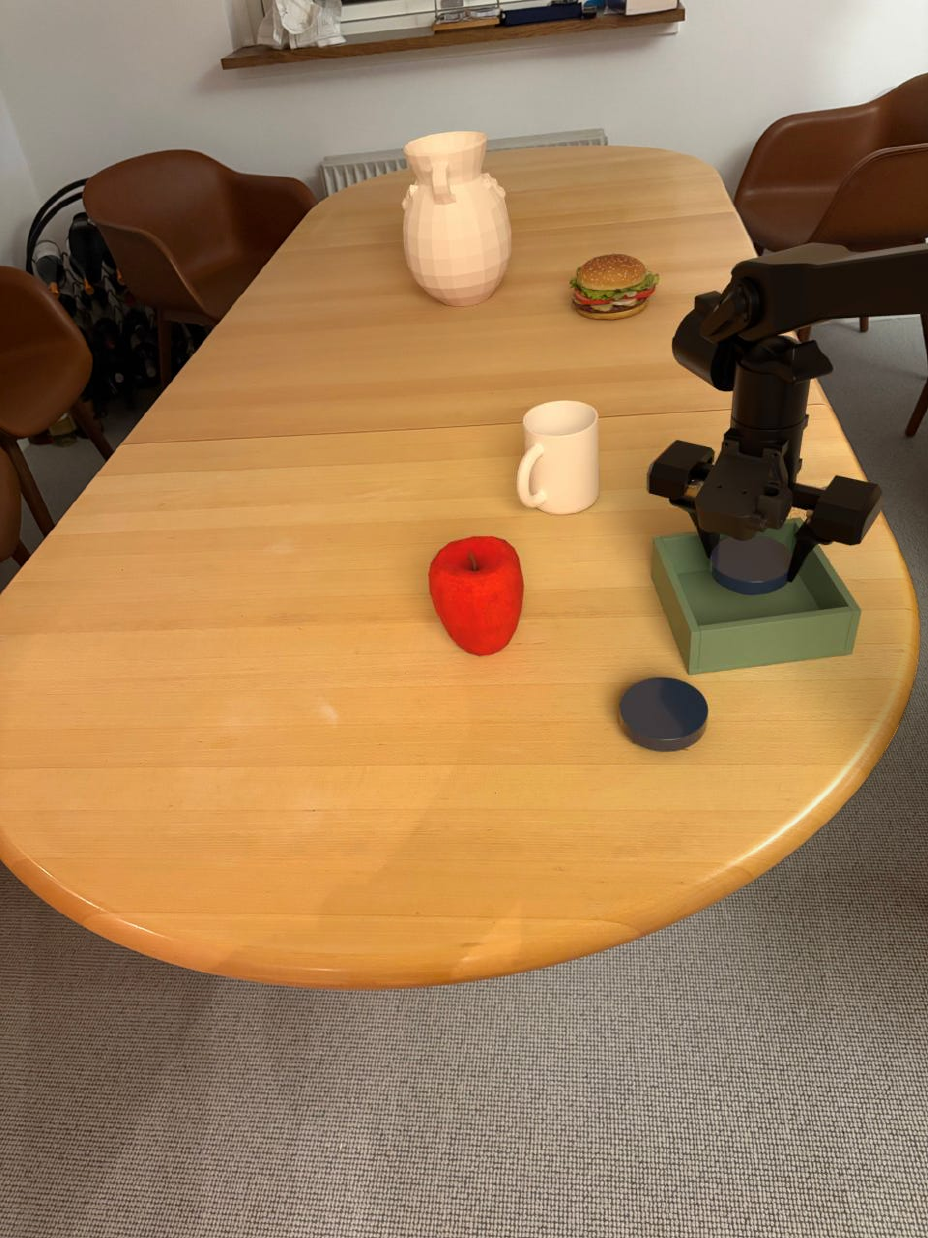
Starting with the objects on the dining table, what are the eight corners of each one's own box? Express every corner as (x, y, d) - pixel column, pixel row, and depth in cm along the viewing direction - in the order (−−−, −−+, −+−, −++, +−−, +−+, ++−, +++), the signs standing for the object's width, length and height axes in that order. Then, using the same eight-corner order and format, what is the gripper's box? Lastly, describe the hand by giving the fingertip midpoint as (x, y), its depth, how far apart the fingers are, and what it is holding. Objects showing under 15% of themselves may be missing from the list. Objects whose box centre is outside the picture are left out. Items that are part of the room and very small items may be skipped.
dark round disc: (775, 551, 84) (778, 529, 82) (802, 597, 78) (806, 575, 77) (699, 561, 84) (701, 540, 83) (721, 608, 79) (723, 586, 77)
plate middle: (693, 692, 77) (695, 671, 75) (717, 754, 72) (719, 733, 70) (611, 702, 77) (611, 682, 76) (629, 765, 72) (629, 745, 70)
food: (671, 312, 140) (673, 261, 135) (587, 330, 139) (586, 279, 134) (638, 285, 151) (639, 236, 146) (560, 301, 149) (558, 252, 144)
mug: (550, 541, 97) (545, 459, 90) (494, 518, 101) (484, 439, 95) (614, 490, 103) (613, 410, 96) (557, 471, 108) (553, 393, 101)
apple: (478, 600, 90) (466, 512, 83) (547, 630, 86) (541, 539, 79) (421, 650, 85) (403, 561, 79) (492, 684, 81) (479, 592, 74)
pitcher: (426, 279, 165) (404, 131, 149) (523, 274, 161) (512, 121, 145) (401, 319, 151) (374, 160, 135) (506, 315, 147) (492, 151, 131)
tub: (794, 558, 90) (800, 516, 86) (852, 654, 78) (862, 610, 75) (651, 577, 90) (652, 536, 87) (688, 675, 79) (691, 633, 75)
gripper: (615, 434, 71) (616, 587, 81) (854, 488, 61) (821, 654, 71) (677, 377, 77) (671, 525, 87) (902, 418, 68) (866, 578, 78)
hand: (750, 568), depth 81 cm, fingers closed on dark round disc, 7 cm apart
